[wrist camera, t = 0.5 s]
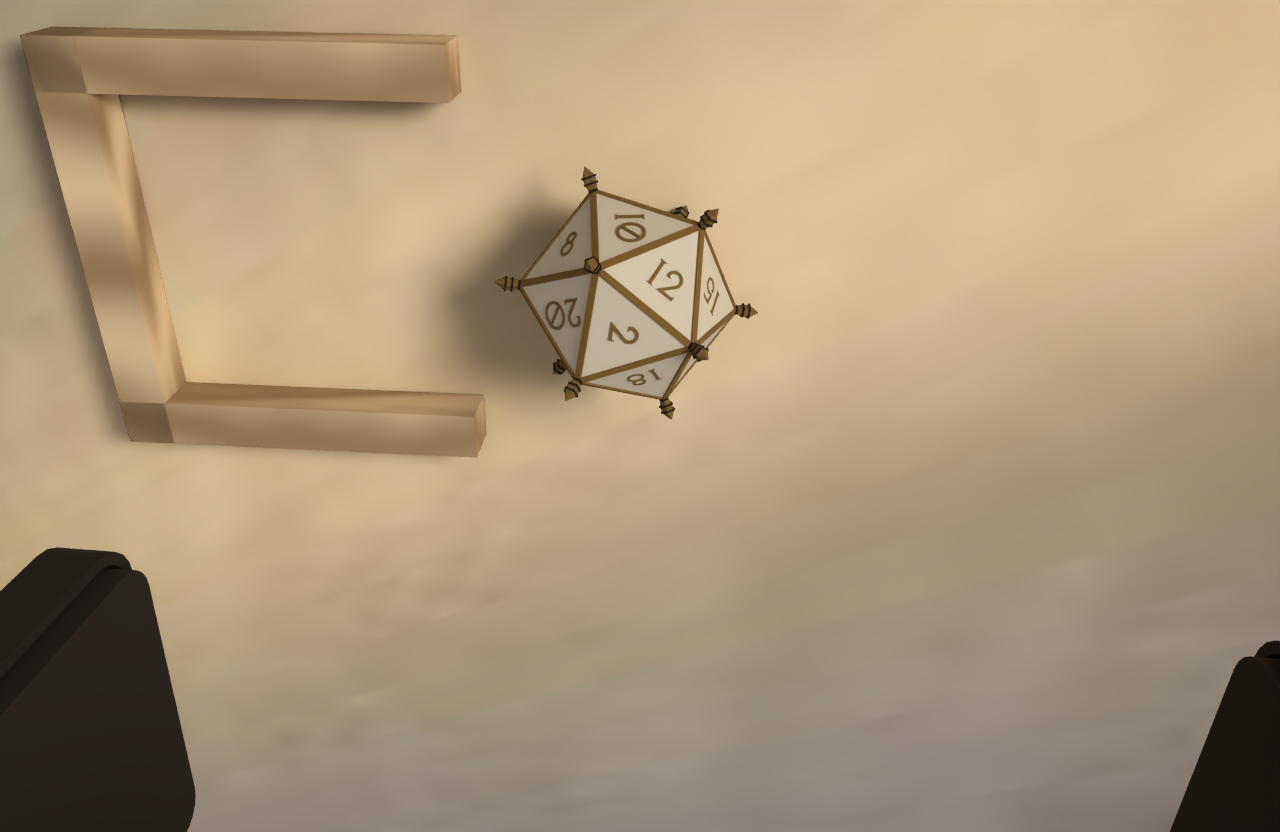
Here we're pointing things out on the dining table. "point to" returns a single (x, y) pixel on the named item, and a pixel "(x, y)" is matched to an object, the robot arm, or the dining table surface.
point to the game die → (629, 295)
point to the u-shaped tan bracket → (123, 247)
